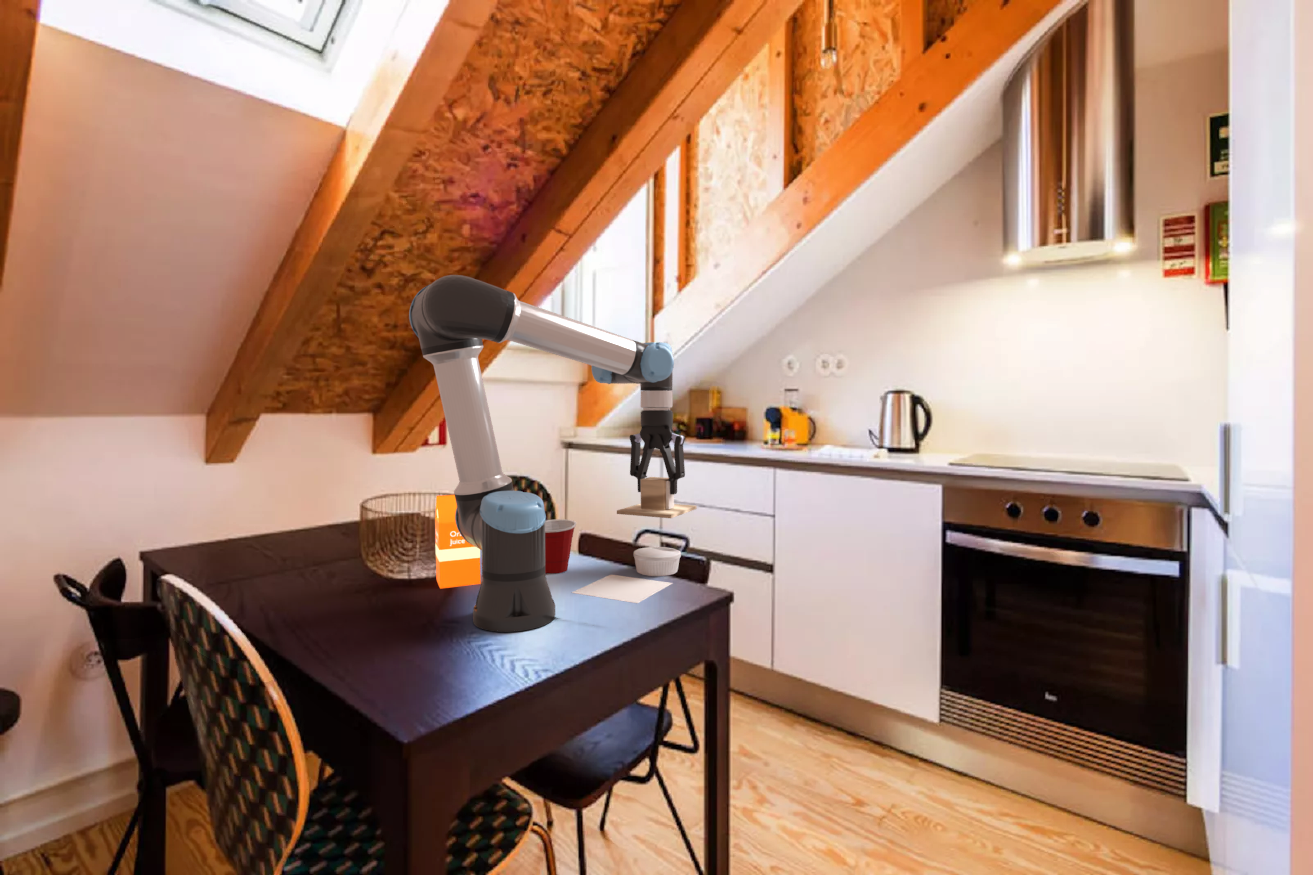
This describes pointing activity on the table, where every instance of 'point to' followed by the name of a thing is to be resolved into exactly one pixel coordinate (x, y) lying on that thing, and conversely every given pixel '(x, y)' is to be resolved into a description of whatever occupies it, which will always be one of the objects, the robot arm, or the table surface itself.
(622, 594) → the white square panel
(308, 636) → the table surface
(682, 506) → the birch lid
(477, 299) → the robot arm
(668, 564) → the ramekin
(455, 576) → the orange juice
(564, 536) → the plastic cup
